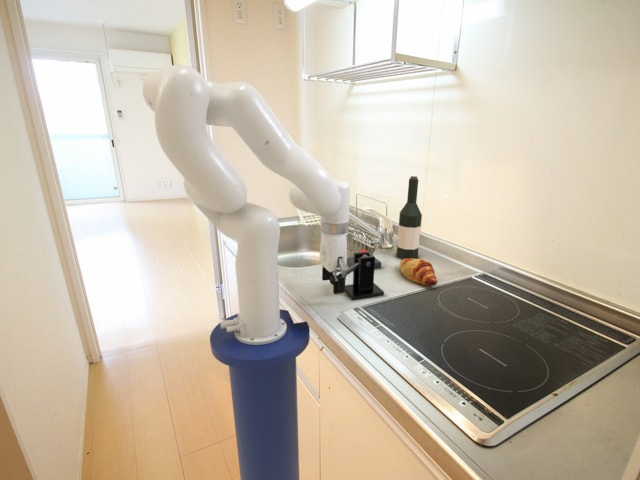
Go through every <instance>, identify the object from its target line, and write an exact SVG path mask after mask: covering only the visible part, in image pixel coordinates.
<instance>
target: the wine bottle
mask: <svg viewBox="0 0 640 480" xmlns="http://www.w3.org/2000/svg"><path fill="white" fill-rule="evenodd" d="M407 187H408V189H407V200H406V203H405V205H403V207H402V209H401V210H400V211H399V217H398V230H397V244H396V258H397V259H399V260H403V259H406V258H407V259H408V258H413V259H419V249H420V238H421V228H422V219H423V214H422V212H421V209H420V208H419V206H418V204H417V199H418V189H419V178H418V176H417V175H416V176H413V175H411V176H410V177H409V178H408V186H407Z"/></svg>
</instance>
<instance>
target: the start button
mask: <svg viewBox="0 0 640 480" xmlns="http://www.w3.org/2000/svg"><path fill="white" fill-rule="evenodd" d="M358 252H369V253H370V251H369V250H367V249H360V250H359V251H358Z"/></svg>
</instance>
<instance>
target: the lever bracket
mask: <svg viewBox="0 0 640 480" xmlns="http://www.w3.org/2000/svg"><path fill="white" fill-rule="evenodd" d="M369 253H370V251H369V252H359V251H358V252H354V253H353V257H354V264H356V263H357V262H358V260H357V259H358V258H359V257H360V258H359V267H358V268H357V269H355V270H354V271H352V284H351V283H350V284H345V293H344V294H346V295H347V297H348V298H349V299H350V300H351V301H357V300H365V299H370V298H377V297H384V296H385V291H384V290H382V289H381V288H380V286H378V285H377V284H376V283H374V282H375V269H374V266H375V258H376V256H375V255H373V256H369ZM364 254H366V255H367V256H368V257H361V256H362V255H364Z"/></svg>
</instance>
